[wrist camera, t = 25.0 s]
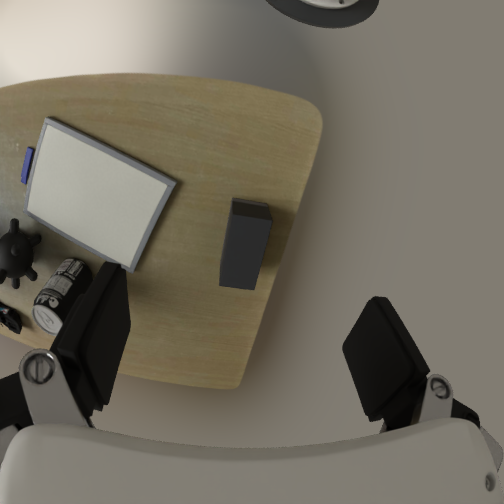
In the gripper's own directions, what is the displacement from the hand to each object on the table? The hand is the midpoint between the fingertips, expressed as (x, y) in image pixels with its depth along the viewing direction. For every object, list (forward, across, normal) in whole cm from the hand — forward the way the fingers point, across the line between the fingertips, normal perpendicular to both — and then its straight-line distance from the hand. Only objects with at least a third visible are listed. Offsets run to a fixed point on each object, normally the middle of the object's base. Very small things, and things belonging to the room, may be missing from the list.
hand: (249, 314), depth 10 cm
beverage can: (+26, +23, +21) cm, 41 cm away
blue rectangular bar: (+26, +32, +3) cm, 41 cm away
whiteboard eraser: (+26, -3, +10) cm, 28 cm away
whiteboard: (+26, +20, +7) cm, 34 cm away
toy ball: (+26, +34, +17) cm, 46 cm away
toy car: (+26, +49, +38) cm, 67 cm away
